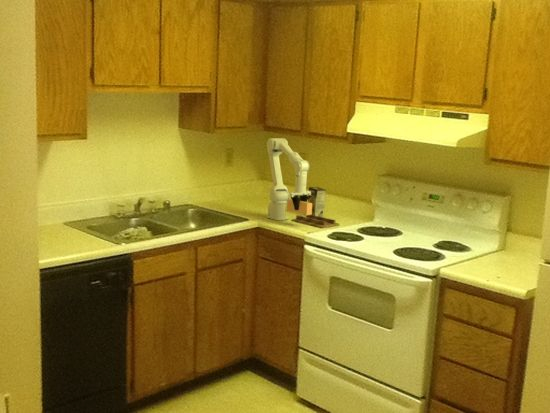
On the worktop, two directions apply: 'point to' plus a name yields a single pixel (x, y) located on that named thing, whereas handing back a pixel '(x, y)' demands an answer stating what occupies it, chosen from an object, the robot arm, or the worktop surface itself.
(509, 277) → the worktop surface
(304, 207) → the orange rectangular block
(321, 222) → the drying rack
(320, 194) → the coffee box
